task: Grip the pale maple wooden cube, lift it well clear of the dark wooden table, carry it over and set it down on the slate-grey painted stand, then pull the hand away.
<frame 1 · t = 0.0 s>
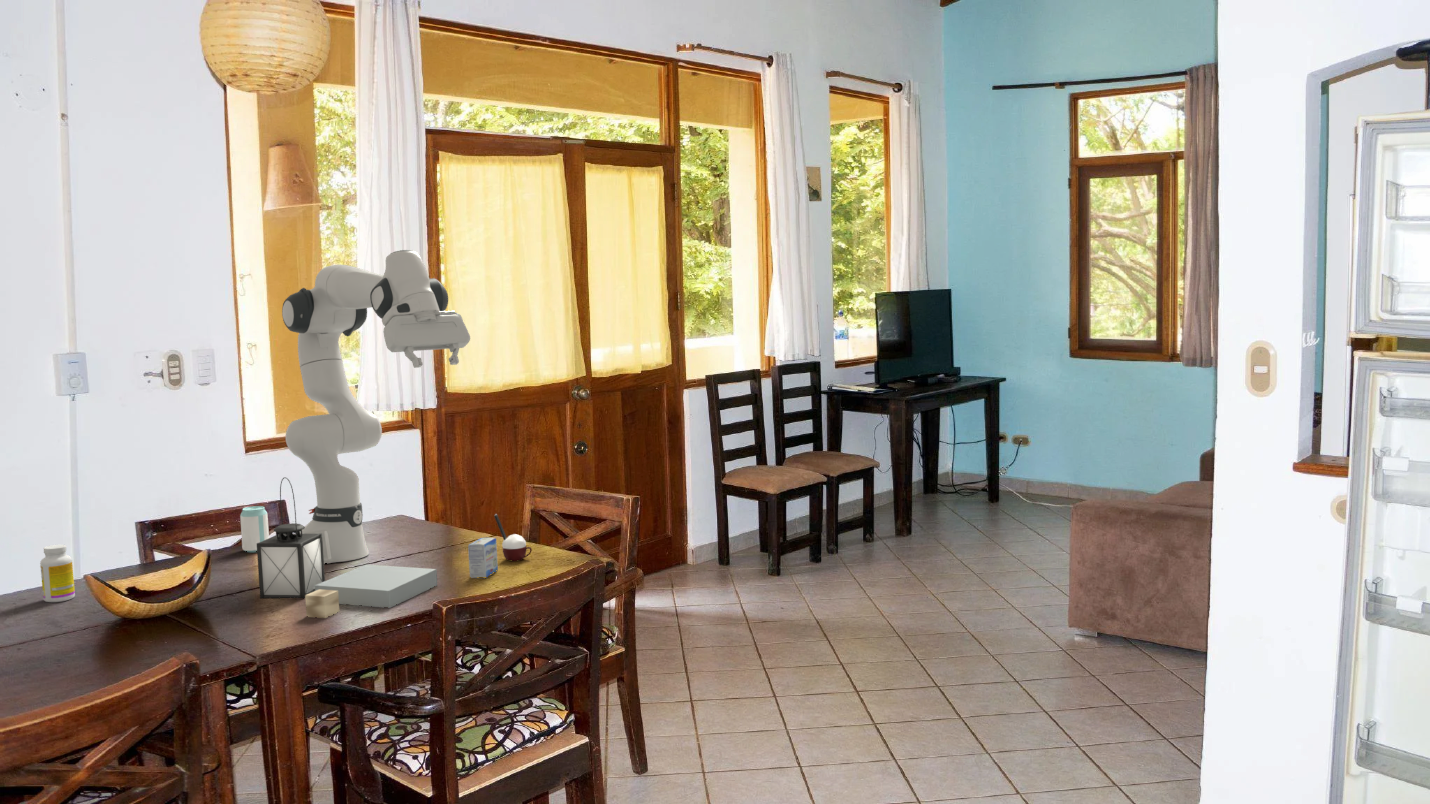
hand: (436, 365, 267), 54 cm above the table, tool tilted 30°, fingers open, 8 cm apart
cocoa: (514, 560, 306), on the table
supplement bottle: (59, 600, 276), on the table
lantern: (293, 593, 278), on the table
medicine box: (483, 575, 291), on the table
can: (256, 550, 323), on the table
maple cube: (323, 614, 258), on the table
stand: (377, 593, 275), on the table
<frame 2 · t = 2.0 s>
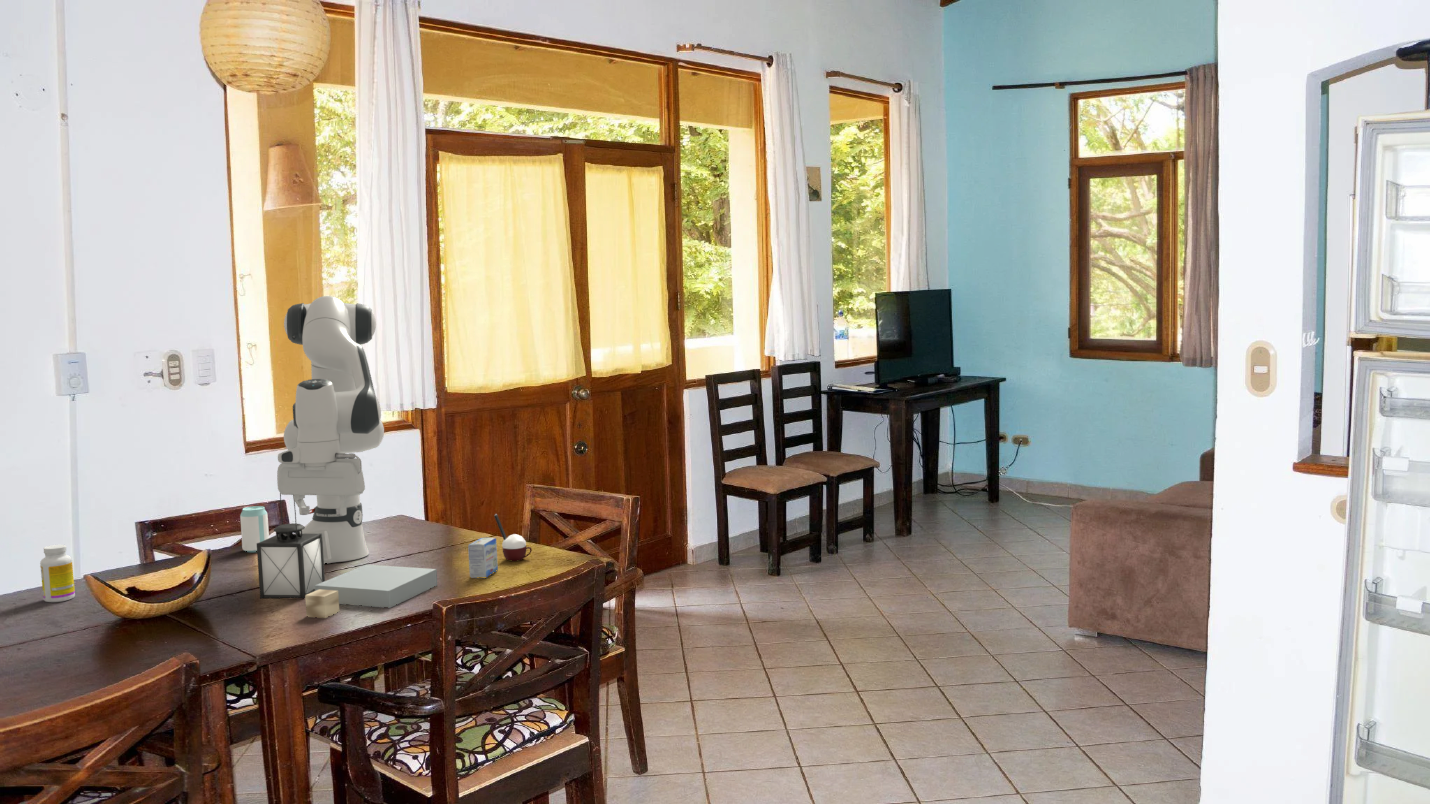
hand: (323, 515, 256), 23 cm above the table, tool pointing down, fingers open, 8 cm apart
nothing on the table moved.
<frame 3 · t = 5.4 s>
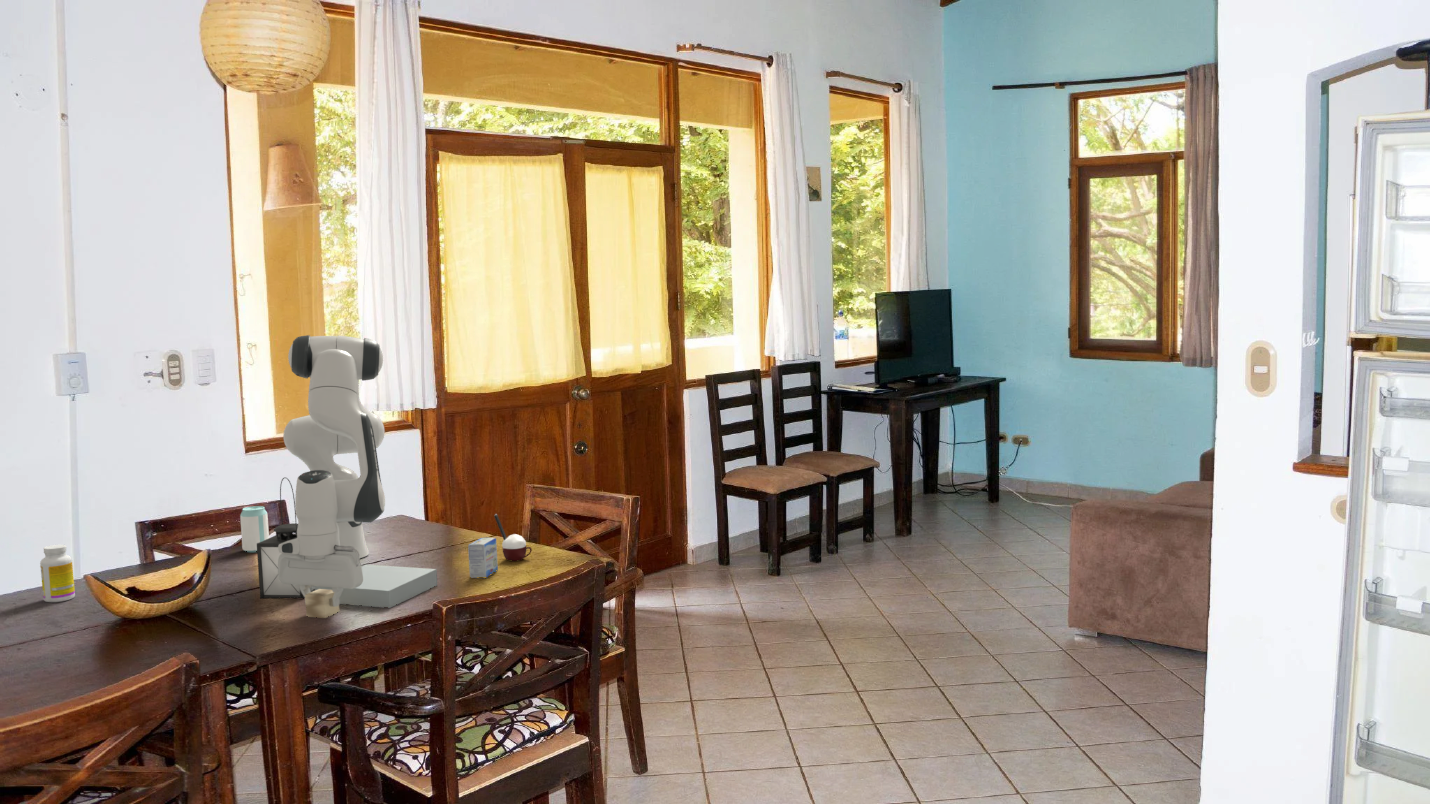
hand: (322, 605, 258), 2 cm above the table, tool pointing down, fingers closed on maple cube, 5 cm apart
maple cube: (323, 614, 258), on the table, touching gripper
everything else where it was.
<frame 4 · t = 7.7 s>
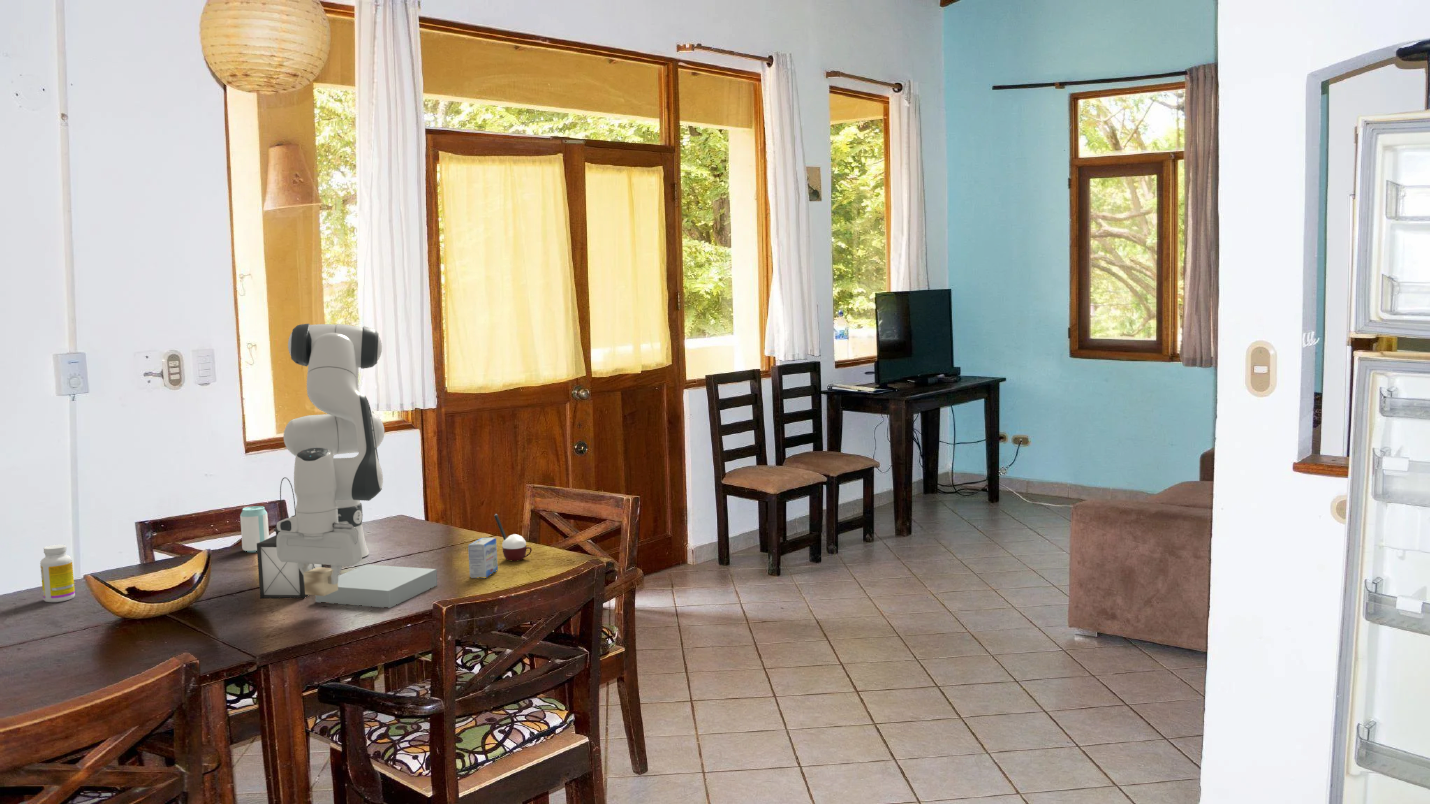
hand: (321, 582, 258), 7 cm above the table, tool pointing down, fingers closed on maple cube, 5 cm apart
maple cube: (321, 592, 258), point 5 cm above the table, touching gripper
everything else where it was.
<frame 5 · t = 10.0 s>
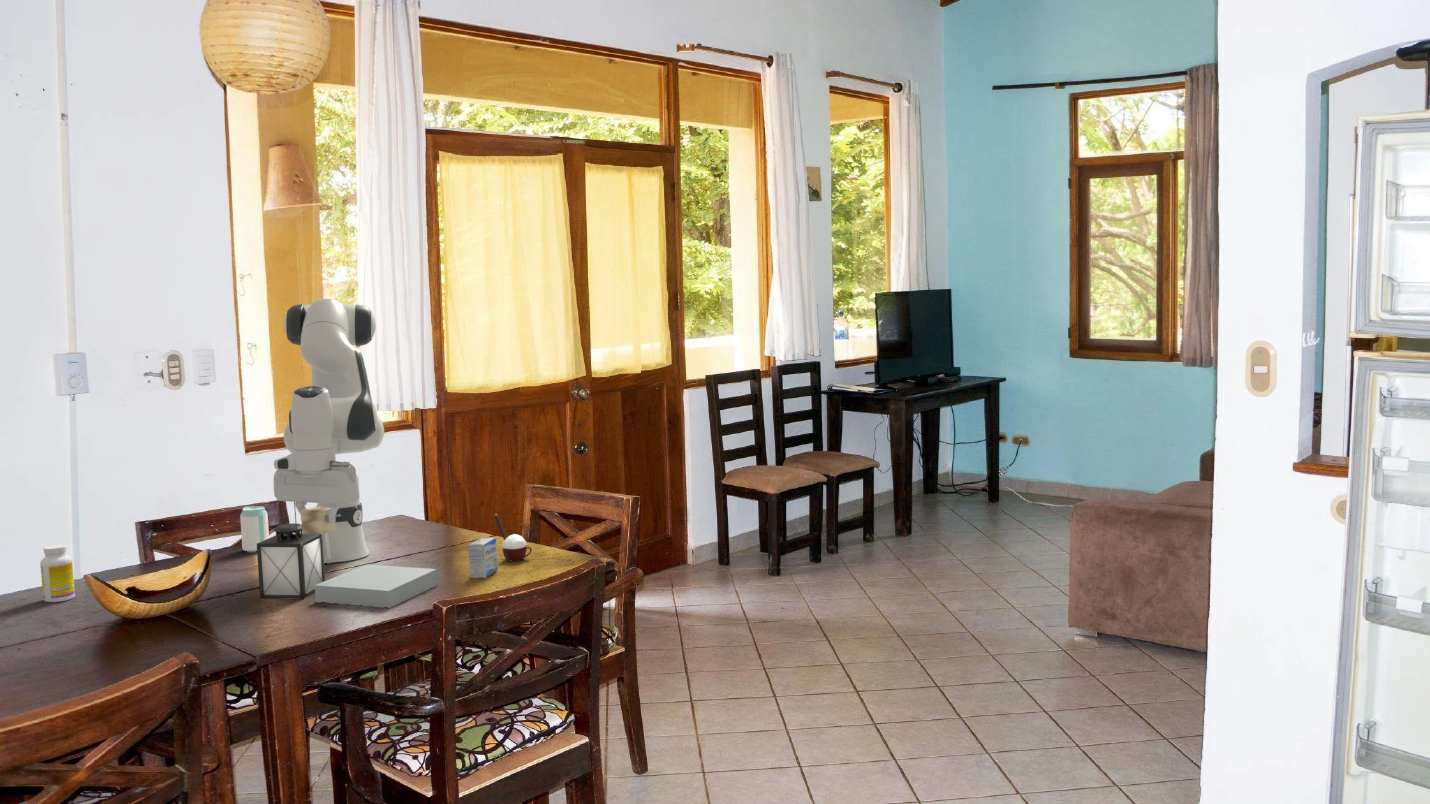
hand: (318, 522, 257), 21 cm above the table, tool pointing down, fingers closed on maple cube, 5 cm apart
maple cube: (318, 531, 257), point 19 cm above the table, touching gripper
everything else where it was.
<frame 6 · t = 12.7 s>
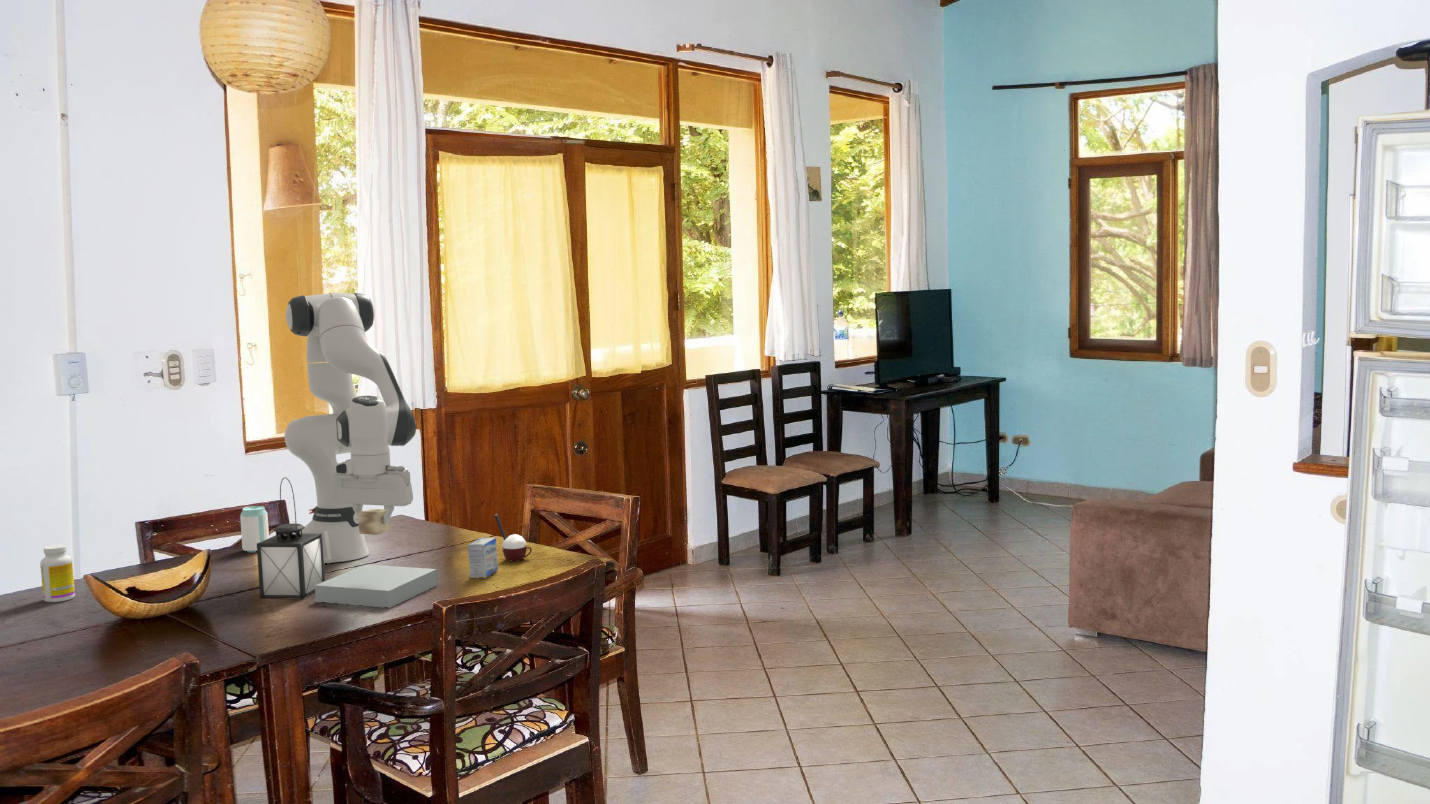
hand: (374, 523, 273), 17 cm above the table, tool pointing down, fingers closed on maple cube, 5 cm apart
maple cube: (374, 532, 273), point 15 cm above the table, touching gripper
everything else where it was.
when the fingers open (8 cm above the table, at t = 15.1 s): maple cube drops 1 cm, resting on stand.
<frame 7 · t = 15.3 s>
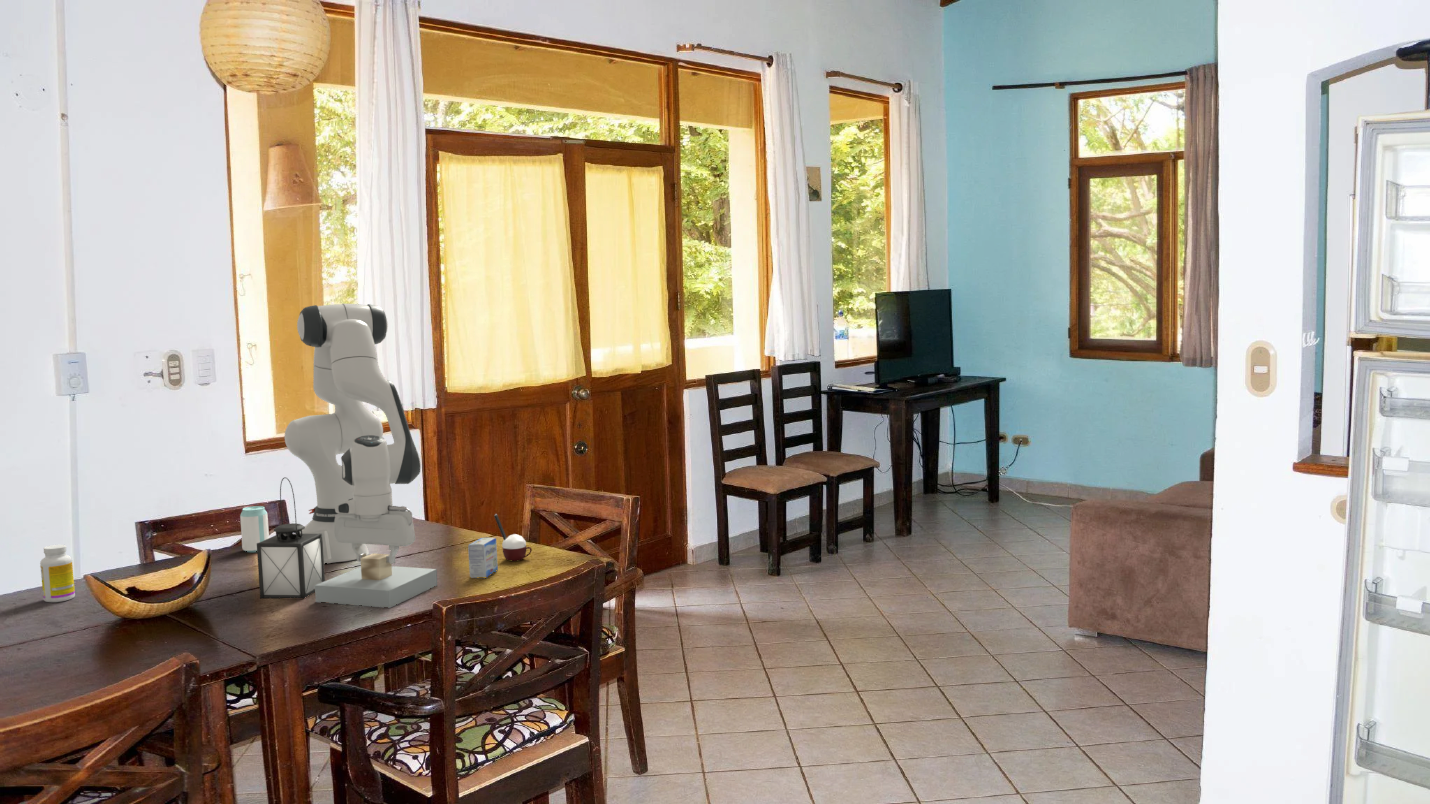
hand: (376, 562, 274), 8 cm above the table, tool pointing down, fingers open, 7 cm apart
maple cube: (376, 577, 274), point 4 cm above the table, touching stand
everything else where it was.
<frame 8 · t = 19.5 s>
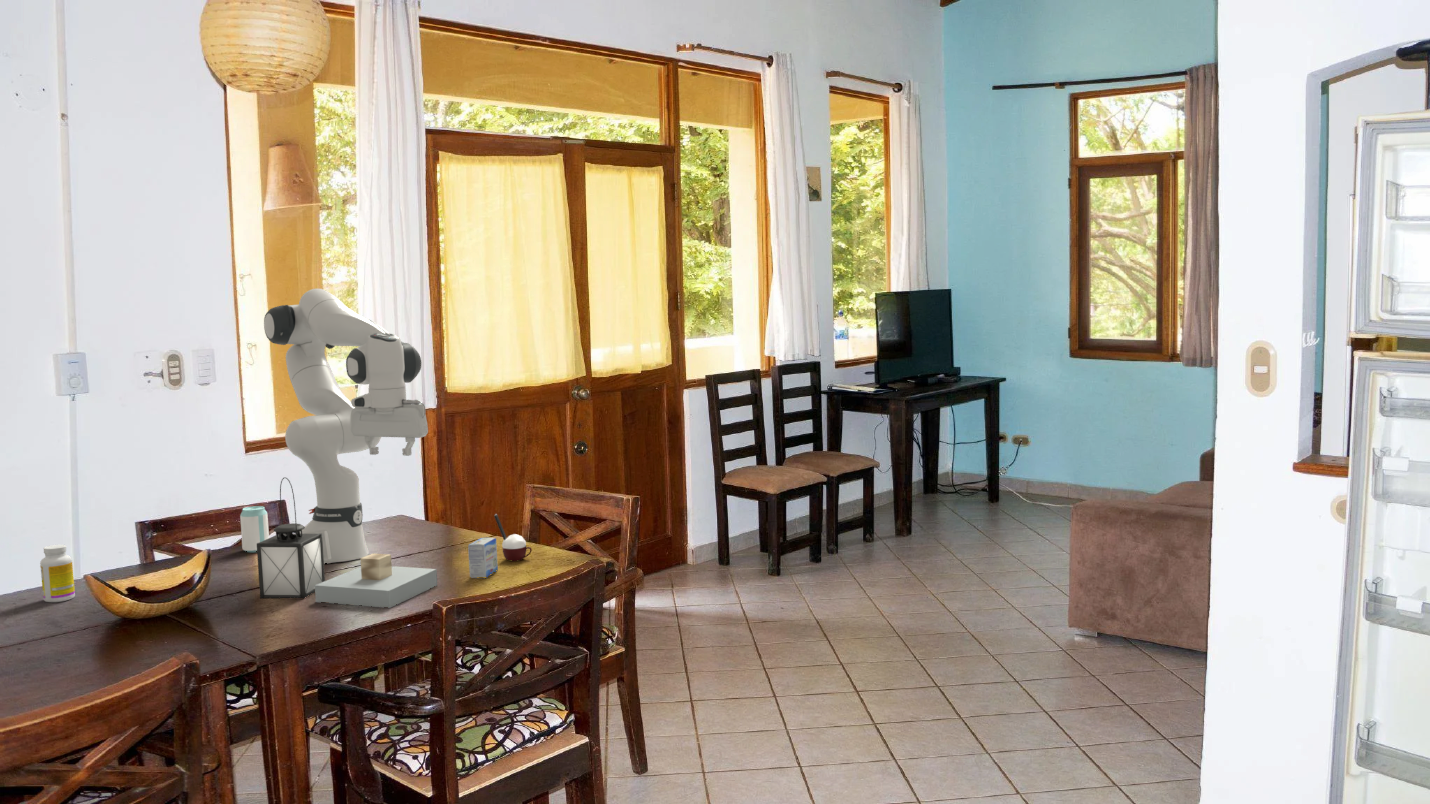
hand: (390, 454, 286), 31 cm above the table, tool pointing down, fingers open, 8 cm apart
nothing on the table moved.
at the end: maple cube inside the target area on the stand (0.1 cm from its centre), point 4.0 cm above the stand's base; maple cube tilted 0°; the gripper is holding nothing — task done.
